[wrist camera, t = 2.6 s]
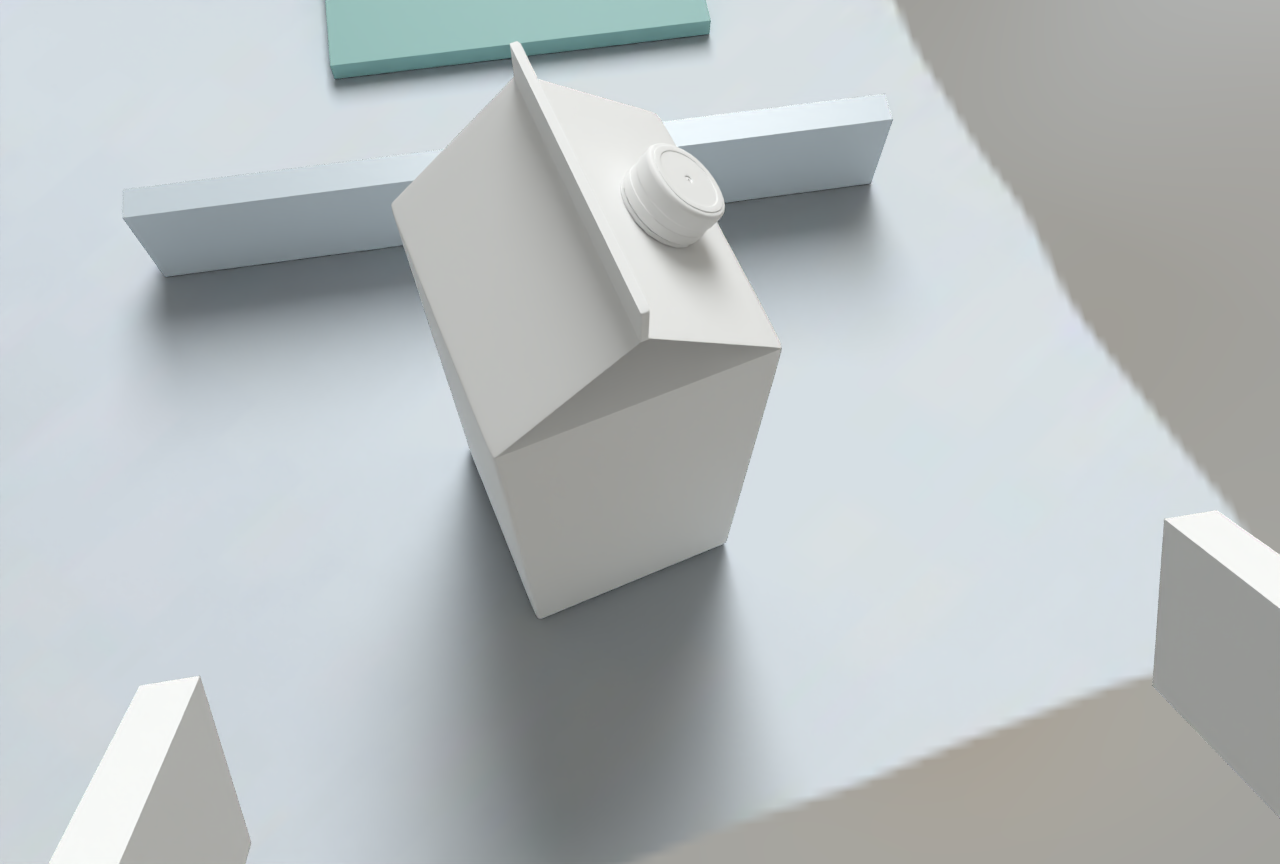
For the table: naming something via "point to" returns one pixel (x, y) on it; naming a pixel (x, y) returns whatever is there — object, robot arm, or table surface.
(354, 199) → the acrylic wall
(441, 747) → the table surface
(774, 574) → the table surface
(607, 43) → the teal board
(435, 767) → the table surface
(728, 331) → the milk carton
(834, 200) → the table surface
